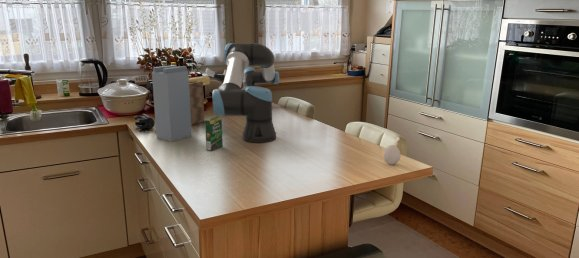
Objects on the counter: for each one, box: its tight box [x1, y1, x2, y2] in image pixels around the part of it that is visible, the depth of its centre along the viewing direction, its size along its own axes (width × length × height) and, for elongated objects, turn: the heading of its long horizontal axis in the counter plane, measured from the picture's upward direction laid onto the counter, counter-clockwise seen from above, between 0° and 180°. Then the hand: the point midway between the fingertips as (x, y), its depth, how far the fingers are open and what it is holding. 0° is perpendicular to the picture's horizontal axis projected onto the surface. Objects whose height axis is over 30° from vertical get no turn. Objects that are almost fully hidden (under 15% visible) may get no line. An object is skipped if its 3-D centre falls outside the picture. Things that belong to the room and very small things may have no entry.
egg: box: [383, 144, 401, 166], centre depth 166 cm, size 6×6×8 cm
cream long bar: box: [189, 75, 211, 86], centre depth 229 cm, size 22×4×4 cm, turn 145°
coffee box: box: [204, 115, 224, 152], centre depth 184 cm, size 8×3×13 cm, turn 150°
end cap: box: [134, 113, 156, 133], centre depth 217 cm, size 10×7×7 cm
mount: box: [151, 64, 192, 143], centre depth 200 cm, size 12×10×32 cm
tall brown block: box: [189, 82, 205, 126], centre depth 229 cm, size 10×10×21 cm
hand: (215, 70), depth 241 cm, fingers open, 13 cm apart
